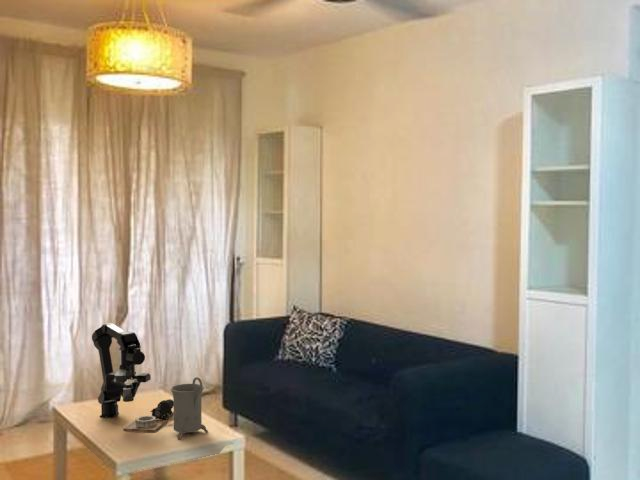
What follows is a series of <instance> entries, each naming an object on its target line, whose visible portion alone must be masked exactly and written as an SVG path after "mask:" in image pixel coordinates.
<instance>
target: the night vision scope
mask: <svg viewBox="0 0 640 480" xmlns="http://www.w3.org/2000/svg"><path fill="white" fill-rule="evenodd" d="M172 409H174V401H173V399H166V400H160V402H159V403H158V404H157V406H156V407H155V408H152V409H151V411H150V413H151V416H154V417H156V420H168V419H169V418H170V417H171V416H172V414H173V410H172Z"/></svg>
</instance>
